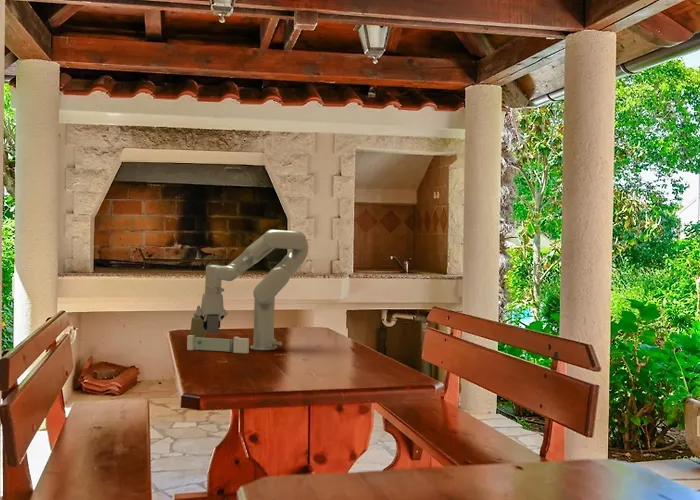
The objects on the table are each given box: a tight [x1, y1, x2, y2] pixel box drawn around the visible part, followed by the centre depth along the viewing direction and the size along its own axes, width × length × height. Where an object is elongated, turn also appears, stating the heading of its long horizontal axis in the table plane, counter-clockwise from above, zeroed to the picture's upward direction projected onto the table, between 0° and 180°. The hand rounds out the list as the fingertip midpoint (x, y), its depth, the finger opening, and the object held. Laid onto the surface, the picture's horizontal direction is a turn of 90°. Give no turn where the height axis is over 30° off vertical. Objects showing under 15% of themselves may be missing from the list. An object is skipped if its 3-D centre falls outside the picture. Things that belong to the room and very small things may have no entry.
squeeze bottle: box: [189, 305, 207, 343], centre depth 376 cm, size 8×8×18 cm
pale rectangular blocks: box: [186, 334, 250, 354], centre depth 347 cm, size 30×3×7 cm, turn 77°
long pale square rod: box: [194, 337, 234, 353], centre depth 347 cm, size 19×2×6 cm, turn 77°
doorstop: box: [205, 315, 220, 334], centre depth 356 cm, size 5×7×8 cm
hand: (211, 329), depth 356 cm, fingers closed on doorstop, 5 cm apart
